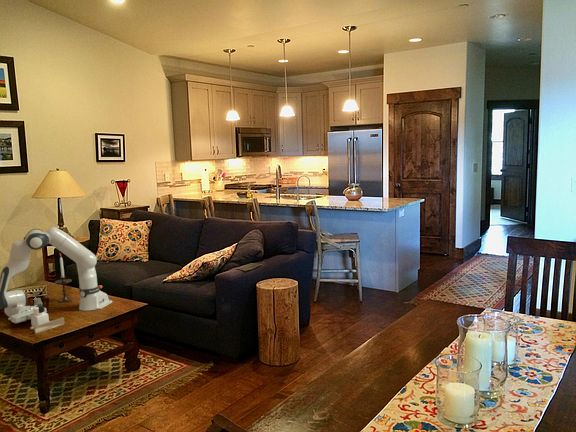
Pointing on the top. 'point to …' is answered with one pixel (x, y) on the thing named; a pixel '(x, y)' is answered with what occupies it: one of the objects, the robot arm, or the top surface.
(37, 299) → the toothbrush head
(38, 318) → the medicine bottle
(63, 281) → the candlestick
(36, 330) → the beige flat block
